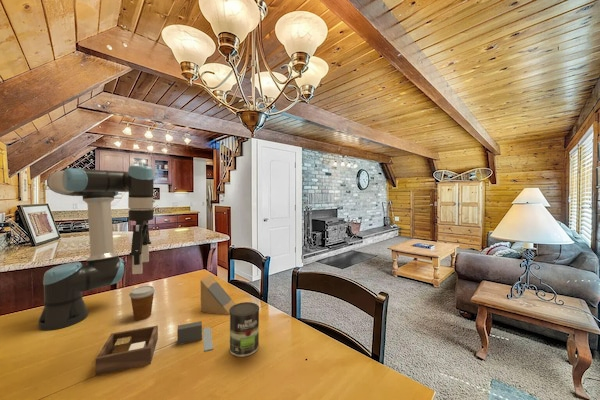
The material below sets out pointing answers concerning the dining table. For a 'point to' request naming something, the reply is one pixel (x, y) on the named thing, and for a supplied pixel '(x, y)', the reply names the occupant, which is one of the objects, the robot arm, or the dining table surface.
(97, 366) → the box
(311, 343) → the dining table surface
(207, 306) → the sandwich container
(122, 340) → the brass block
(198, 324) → the lid
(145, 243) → the robot arm
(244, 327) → the coffee can
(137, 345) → the off-white block
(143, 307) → the disposable coffee cup
